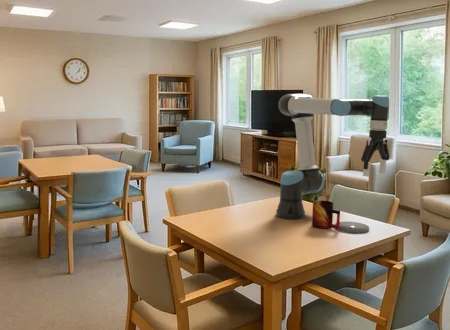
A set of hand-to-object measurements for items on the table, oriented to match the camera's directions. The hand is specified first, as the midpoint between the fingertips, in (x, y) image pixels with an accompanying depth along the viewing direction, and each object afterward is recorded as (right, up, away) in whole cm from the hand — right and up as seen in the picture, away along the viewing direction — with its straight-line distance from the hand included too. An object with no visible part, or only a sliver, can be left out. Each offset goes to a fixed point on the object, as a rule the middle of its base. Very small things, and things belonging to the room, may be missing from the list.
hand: (374, 174), depth 212 cm
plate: (-9, -26, +5) cm, 28 cm away
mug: (-21, -26, +7) cm, 34 cm away
